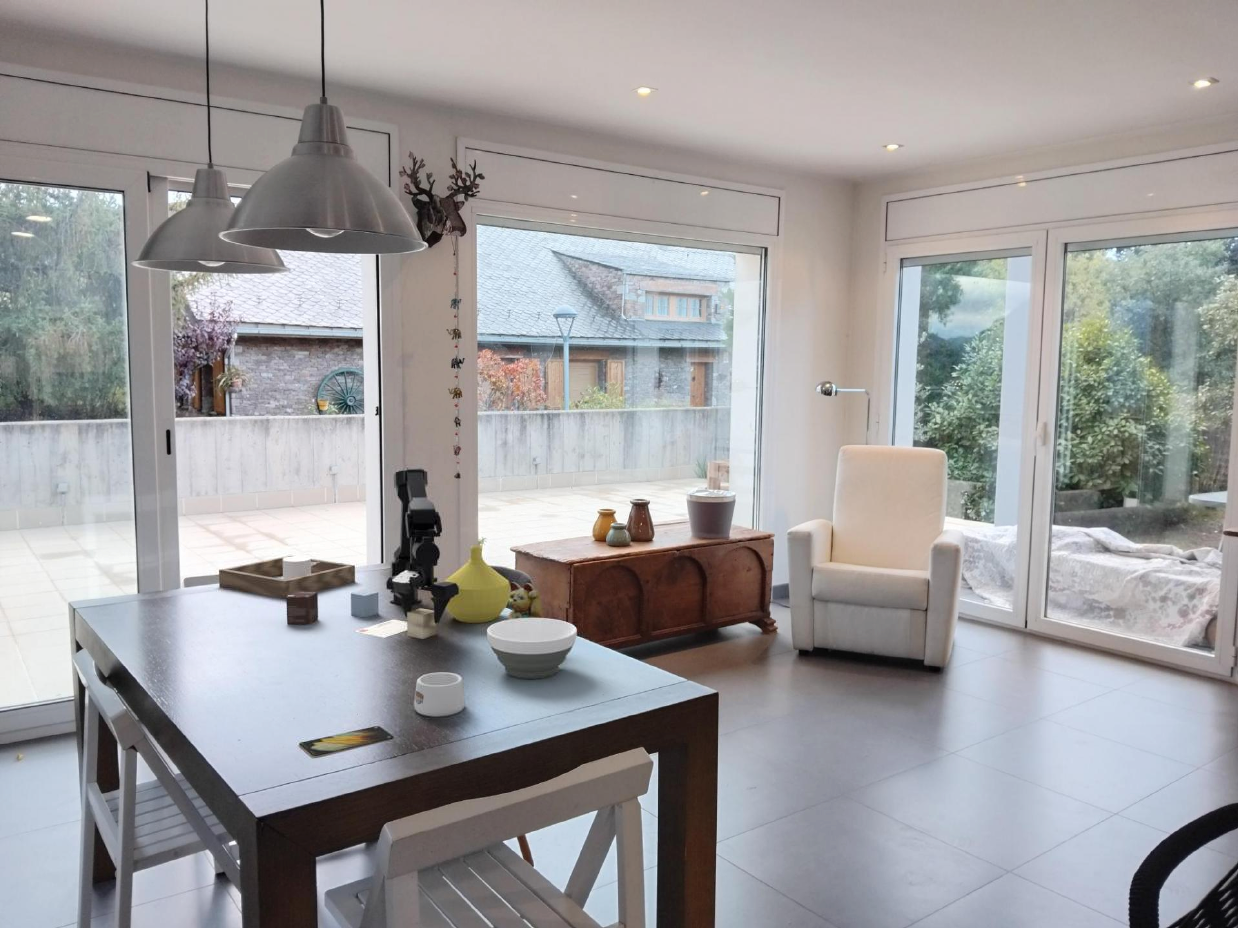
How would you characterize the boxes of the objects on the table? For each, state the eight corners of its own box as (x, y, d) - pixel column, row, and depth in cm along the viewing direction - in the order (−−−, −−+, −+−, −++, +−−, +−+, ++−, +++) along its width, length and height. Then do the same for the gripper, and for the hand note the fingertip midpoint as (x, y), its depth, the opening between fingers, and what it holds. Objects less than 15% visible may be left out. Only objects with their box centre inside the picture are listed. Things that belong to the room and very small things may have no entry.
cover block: (420, 631, 239) (420, 608, 238) (436, 634, 236) (436, 611, 236) (407, 636, 234) (407, 612, 234) (423, 639, 232) (422, 615, 231)
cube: (364, 611, 258) (364, 589, 257) (378, 614, 255) (378, 592, 254) (351, 615, 253) (350, 593, 253) (365, 618, 251) (364, 595, 250)
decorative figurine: (500, 643, 229) (500, 582, 228) (518, 635, 237) (518, 576, 235) (535, 649, 225) (535, 586, 224) (552, 640, 233) (553, 580, 231)
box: (318, 619, 249) (318, 591, 248) (309, 625, 243) (308, 597, 242) (296, 618, 249) (296, 590, 248) (286, 624, 243) (285, 596, 242)
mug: (474, 711, 184) (474, 680, 183) (428, 721, 178) (428, 690, 177) (444, 694, 193) (444, 665, 193) (400, 703, 187) (400, 673, 187)
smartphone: (395, 737, 170) (312, 756, 160) (395, 740, 170) (312, 760, 160) (378, 725, 175) (297, 742, 166) (378, 728, 175) (297, 746, 166)
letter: (393, 619, 249) (393, 619, 249) (422, 625, 244) (422, 624, 244) (353, 631, 237) (353, 631, 237) (384, 638, 232) (384, 637, 232)
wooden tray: (291, 570, 307) (290, 555, 306) (355, 581, 293) (354, 565, 293) (219, 586, 283) (219, 569, 283) (285, 598, 270) (284, 581, 269)
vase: (503, 608, 264) (503, 539, 262) (517, 625, 246) (517, 552, 245) (436, 612, 258) (436, 542, 256) (446, 629, 241) (446, 555, 239)
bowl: (554, 691, 196) (554, 646, 195) (470, 679, 203) (470, 635, 202) (589, 664, 214) (590, 623, 213) (511, 654, 221) (512, 614, 220)
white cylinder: (343, 585, 290) (342, 559, 289) (282, 595, 275) (282, 567, 275) (309, 574, 303) (309, 549, 302) (250, 583, 289) (250, 557, 288)
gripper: (370, 559, 231) (370, 622, 232) (429, 568, 222) (429, 633, 223) (401, 551, 241) (402, 612, 242) (460, 560, 232) (460, 623, 233)
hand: (422, 620), depth 235 cm, fingers open, 9 cm apart
